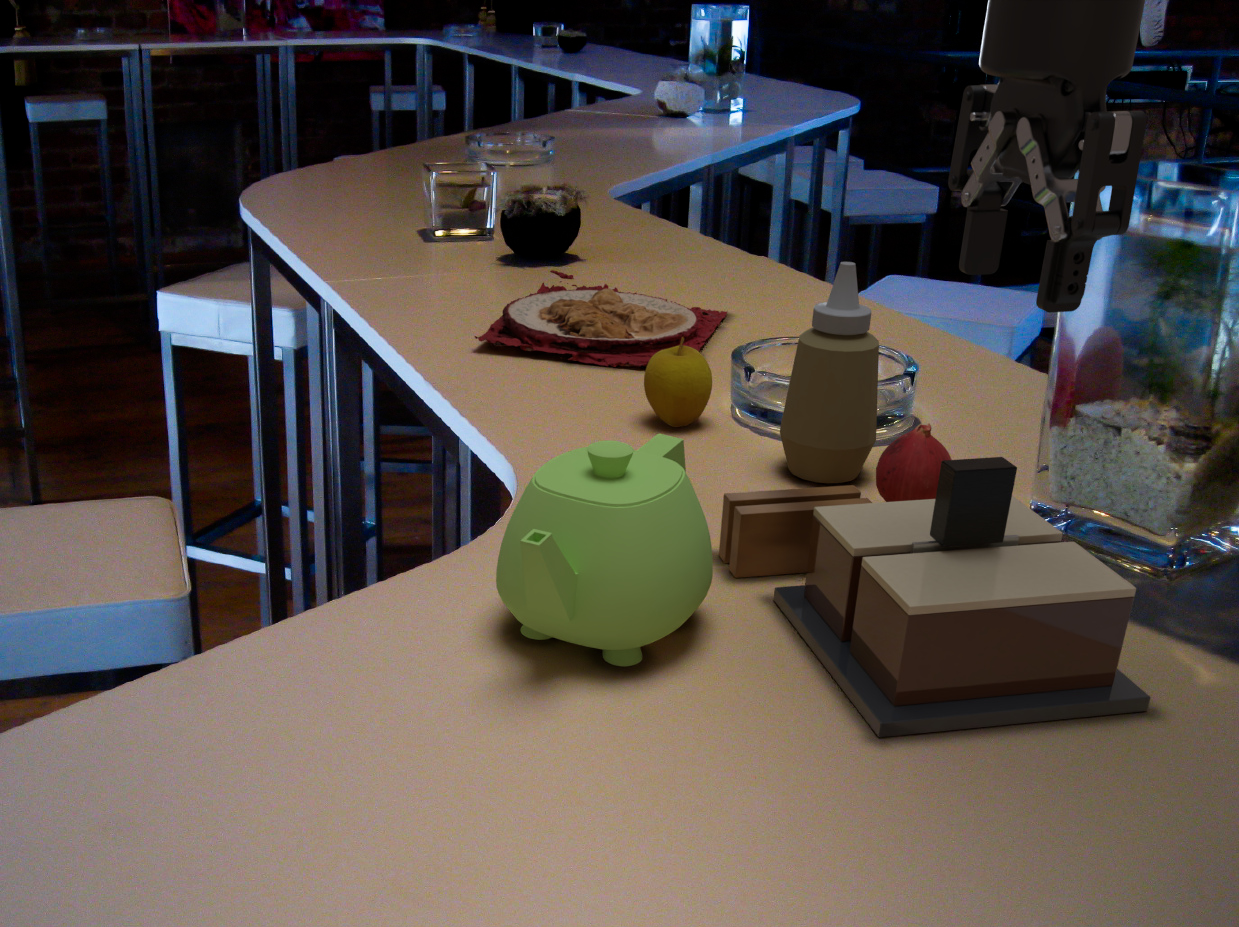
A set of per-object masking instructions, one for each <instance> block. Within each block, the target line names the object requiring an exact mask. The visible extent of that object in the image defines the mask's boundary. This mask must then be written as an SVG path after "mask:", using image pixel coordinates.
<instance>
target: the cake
mask: <svg viewBox="0 0 1239 927" xmlns="http://www.w3.org/2000/svg"><path fill="white" fill-rule="evenodd" d="M934 505H935V499H925V500H910V501H896V502H886V501H884V502H883V501H882V502H872V503H866V504H851V505H836V506H821V507H814V513H813V515H814V516H813V522H812V531H811V539H810V548H809V556H808V565H807V572H806V573H805V574H806V575H805V581H804V582H805V583H804V584H803V585H790V586H789V585H788V586H776V587H775V588H774V592H773V593H774V594H773V602H774V603H775V604H776V605H777V607H778V608H779V609H780V610H781V612H782V613H783V614H784V616H785V617H786V618H787V620H788V621H789V622H790V624H791V625H792V626H793V628H794V629H795V630H796V631H797V633H798V634H799V635H800V637H801V638H802V639H803V640H804V642H805V643H806V644H807V645H808V648H810V649H811V651H812V652H813V653H814V655H815V656H816V657H817V659H818V660H819V661H820V662H821V664H822V665H823V667H824V668H825V669H826V670H827V672H828V673H829V675H830V676H831V677H832V679H833V680H834V681H835V682H836V684H837V685H838V686H839V688H840V689H841V690H842V692H843V693H844V694H845V695H846V696H847V698H848V699H849V701H850V702H851V703H852V704H853V706H854V707H855V708H856V710H857V711H858V712H859V713H860V715H861V716H862V718H863V719H864V721H866V723H867V724H868V725H869V727H870V728H871V730H873V732H874V733H875V735H876V736H877V737H878V738H888V737H897V736H899V737H900V736H906V735H907V736H908V735H917V734H928V733H939V732H947V731H948V732H949V731H958V730H959V731H960V730H968V729H977V728H988V727H990V728H991V727H997V726H998V727H999V726H1009V725H1019V724H1028V723H1029V724H1030V723H1039V722H1048V721H1050V722H1051V721H1059V720H1069V719H1079V718H1089V717H1091V718H1092V717H1098V716H1099V717H1100V716H1109V715H1120V714H1128V713H1129V714H1131V713H1139V712H1140V713H1141V712H1147V711H1148V709H1149V707H1150V706H1149V705H1150V702H1151V696H1150V695H1149V694H1148V693H1146V691H1144V690H1143V689H1142V688H1141V687H1140V686H1138V685H1137V684H1136V683H1135V682H1134V681H1133V680H1131V679H1130V678H1129V677H1128V676H1127V675H1126V674H1124V672H1122V671H1121V670H1120V669H1118V666H1119V662H1120V657H1121V654H1122V650H1123V646H1124V641H1125V637H1126V633H1127V630H1128V625H1129V620H1130V617H1131V613H1132V610H1133V604H1134V601H1135V596H1136V591H1137V587H1136V586H1135V585H1133V584H1132V583H1130V581H1127V580H1126V578H1124V577H1122V576H1121V575H1120V574H1118V573H1117V572H1116V571H1114V570H1113V569H1112V568H1111V567H1109V566H1108V565H1106V564H1105V563H1104V562H1102V560H1100V559H1098V558H1097V557H1096V556H1094V554H1091V553H1090V552H1089V551H1088V550H1086V549H1084V547H1082V546H1081V545H1079V544H1078V543H1077V542H1075V541H1062V539H1063V532H1062V531H1061V530H1059V529H1058V528H1057V527H1056V526H1054V525H1052V523H1050V522H1049V521H1047V520H1046V519H1045V518H1043V517H1042V516H1041V515H1040V514H1038V513H1037V512H1035V511H1034V510H1033V509H1031V508H1030V507H1029V506H1027V505H1026V504H1024V502H1022V501H1021V500H1019V499H1018V498H1016V497H1015V496H1014V495H1012V498H1011V503H1010V509H1009V514H1008V519H1007V524H1006V530H1005V535H1018V536H1019V541H1018V546H1006V547H993V548H979V549H966V550H952V551H939V552H925V553H912V554H910V552H911V545H912V542H924V541H936V540H934V539H933V538H932V537H931V536H930V529H931V523H932V517H933V511H934ZM1005 535H1004V536H1005ZM1061 541H1062V542H1061Z"/></svg>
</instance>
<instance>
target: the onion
mask: <svg viewBox="0 0 1239 927" xmlns="http://www.w3.org/2000/svg"><path fill="white" fill-rule="evenodd" d="M932 429H933V428H932V425H931V423H930V422H929V423H928V422H922V423H920V424H918V425H917V426H916V427H915V428H914V429H912V430H910V431H908V432H905V433H904V434H902V435H899V437H897V438H896V439H894V440H893V441H892V442H891V443H889V445H887V447H886V448H885V449H884V450H883V451H882V453H881V455H880V456H879V458H878V460H877V464H876V468H875V486H876V489H877V491H878V494H879V496H880V497H881V498H882V499H883V500H884V502H896V501H910V500H925V499H936V492H937V486H938V480H939V474H940V468H941V462H942V461H943V460H952V457H951V455H950V453H949V451H948V450H947V449H946V447H945V446H944V445H943V443H941V441H939V440H938V439H937V438H935V437H934V436H933V435H932Z"/></svg>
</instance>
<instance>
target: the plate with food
mask: <svg viewBox="0 0 1239 927" xmlns="http://www.w3.org/2000/svg"><path fill="white" fill-rule="evenodd" d="M549 272H550V273H551V274H554V275H557V276H558V277H559V278H560V279H563V280H574V279H575V278H574V274H569V275H568V273H564V272H560V271H557V270H554V269H551V270H549ZM559 283H562V280H560V281H559ZM568 284H569V282H566V285H568ZM571 287H576V288H575V289H567V288H566V287H565V286H564V285H561V286H560V285H556V286H555V285H554V284H553V285H551V286H550V287H549V286H548V285H545V282H542V283H541V285H540V286H539V288H538V289H537V291H536V292H534V293H529V295H526V296H524V297H518V298H517V299H514V300H511V301H510V302H509V303H507V304H506V305H505V306H504V307H503V309H502V312H501V313H502V315H501V316H500V317H498V318H497V319H496V320H495V321H494V322H493V323H491V324H490V326H489V328H488V329H487V331H486V332H484V333H483V334H482V335H479V336H476V335H474V339H476V340H478V341H479V342H484V341H486V342H487V343H488V344H491V346H494V347H508V346H510V347H511V346H514V347H519V349H520V350H523V351H525V352H534V351H535V352H536V351H537V353H538V352H539V351H540V352H546V353H550V354H551V353H553V354H562V355H566V354H568V355H572V356H571V357H569V358H567V360H568V361H573V362H576V361H577V362H580V363H584V364H594V365H599V366H606V367H609V366H610V367H614V368H616V367H617V366H620V367H639V368H640V367H641V366H643V367H647V365H648V363H649V360H650V359H651V357H652V356H653V355H655V354H656V353H657V352H659V351H661V350H664V349H668V348H672V347H675V346H680V342H681V339H682V337H683V338H684V342H683V344H682V346H688V347H691V348H693V349H695V350H697V351H698V352H699V353H700V350H701V348H702V347H704V345H705V343H706V341H707V339H708V338H710V336H711V335H712V334H713V333H714V332H715V331H716V328H717V327H718V326H720V323H721V322H722V320H724V319H725V318H726V316H727V315H728V310H727V311H724V310H721V311H719V310H715V309H713V310H711V309H705V308H703V309H702V308H701V307H700V306H692V307H690V308H689V307H686V306H685V305H682V304H681V303H678V302H675V301H674V302H673V301H672V300H669V301H668V299H667V298H661V297H657V296H652V295H647V294H643V293H638V292H630V291H629V292H625V291H624V292H623V291H619V289H618V288H617V287H614V288H609V285H608V284H607V283H604V285H603V286H602V285H596V286H595V285H594V286H587V285H584V284H583V285H582V286H578V285H577V284H571ZM560 359H563V357H560Z"/></svg>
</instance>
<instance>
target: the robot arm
mask: <svg viewBox="0 0 1239 927" xmlns="http://www.w3.org/2000/svg"><path fill="white" fill-rule="evenodd" d="M1145 3H1146V0H987V6H986V12H985V20H984V25H983V32H982V39H981V45H980V51H979V52H980V53H979V60H978V65H979V68H980V70H981V71H982V72H983V73H985V74H986V75H989V76H993V77H998V78H999V79H998V83H997V84H978V85H967V86H965V88H964V90H963V93H962V98H961V99H962V100H961V105H960V108H959V109H960V110H959V116H958V122H957V127H956V132H955V139H954V145H953V150H952V156H951V161H950V167H949V172H948V178H947V185H948V188H949V190H950V191H952V192H960V194H961V196H960V202H961V205H962V206H963V208H966V209H967V210H966V215H965V221H964V222H965V223H964V229H963V234H962V235H963V236H962V242H961V249H960V255H959V262H958V268H959V270H960V271H961V272H962V273H964V274H966V275H968V276H979V275H980V276H981V275H985V276H986V275H992V274H995V273H996V272H997V271H998V270H999V268H1000V261H1001V258H1002V257H1001V256H1002V250H1003V244H1004V240H1005V239H1004V237H1005V232H1006V225H1007V220H1008V215H1009V214H1008V213H1009V210H1007V209H1005V208H1002V207H1005V206H1007V205H1008V203H1009V202H1010V200H1011V199H1012V197H1013V196H1014V194H1015V193H1016V191H1017V189H1018V188H1019V186H1020V185H1021V184H1022V183H1024V184H1026V185H1029V186H1030V188H1031V192H1032V198H1033V199H1034V201H1035V202H1036V203H1038V204H1039V205H1041V206H1042V207H1043V208H1044V213H1045V218H1046V223H1047V228H1048V233H1049V237H1050V239H1047V240H1046V244H1045V250H1044V256H1043V262H1042V267H1041V273H1040V277H1039V283H1038V289H1037V295H1036V300H1035V302H1036V303H1035V304H1036V307H1037V308H1038V309H1040V310H1042V311H1045V312H1046V313H1068V312H1069V313H1070V312H1074V311H1076V310H1078V309H1079V307H1080V306H1081V305H1082V301H1083V300H1082V299H1083V298H1084V296H1085V292H1086V286H1087V284H1086V283H1087V281H1088V275H1089V270H1090V266H1091V260H1092V256H1093V252H1094V247H1095V245H1096V243H1097V241H1100V240H1102V239H1103V238H1107V237H1110V236H1122V235H1124V234H1126V233H1127V231H1128V230H1129V226H1130V223H1131V222H1130V221H1131V216H1132V209H1133V204H1134V198H1135V192H1136V186H1137V181H1138V174H1139V169H1140V162H1141V157H1142V151H1143V146H1144V139H1145V133H1146V127H1147V116H1146V113H1145V112H1144V111H1143V110H1111V111H1109V110H1108V109H1107V89H1108V86H1109V85H1110V83H1112V81H1115V80H1119V79H1122V78H1124V77H1126V76H1127V75H1128V74H1130V72H1131V70H1132V69H1133V65H1134V60H1135V54H1136V50H1137V46H1138V45H1137V44H1138V40H1139V34H1140V29H1141V25H1142V19H1143V14H1144V9H1145V5H1146V4H1145ZM1107 110H1108V111H1107ZM976 150H977V151H976ZM974 151H976V153H975V155H974V156H973V158H972V160H971V162H970V157H971V154H972V152H974ZM969 164H970V165H971V169H969ZM1077 172H1078V175H1077V176H1078V177H1077V178H1073V177H1074V176H1075V175H1076V173H1077ZM1106 187H1111V192H1110V197H1109V204H1108V210H1103V205H1102V200H1101V193H1102V192H1103V191H1105V189H1106ZM1067 203H1073V208H1072V209H1073V210H1072V215H1070V214H1069V209H1068V204H1067Z"/></svg>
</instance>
